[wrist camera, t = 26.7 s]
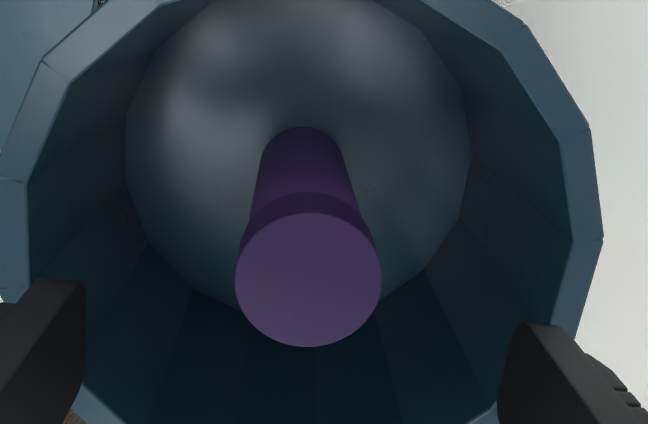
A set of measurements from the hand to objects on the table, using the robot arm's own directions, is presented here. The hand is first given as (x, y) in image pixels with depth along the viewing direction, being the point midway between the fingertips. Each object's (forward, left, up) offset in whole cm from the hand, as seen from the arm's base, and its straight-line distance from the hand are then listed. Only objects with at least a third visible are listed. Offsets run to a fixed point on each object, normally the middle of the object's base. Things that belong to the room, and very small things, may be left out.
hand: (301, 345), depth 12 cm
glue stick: (0, 0, -13) cm, 13 cm away
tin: (0, 0, -13) cm, 13 cm away
